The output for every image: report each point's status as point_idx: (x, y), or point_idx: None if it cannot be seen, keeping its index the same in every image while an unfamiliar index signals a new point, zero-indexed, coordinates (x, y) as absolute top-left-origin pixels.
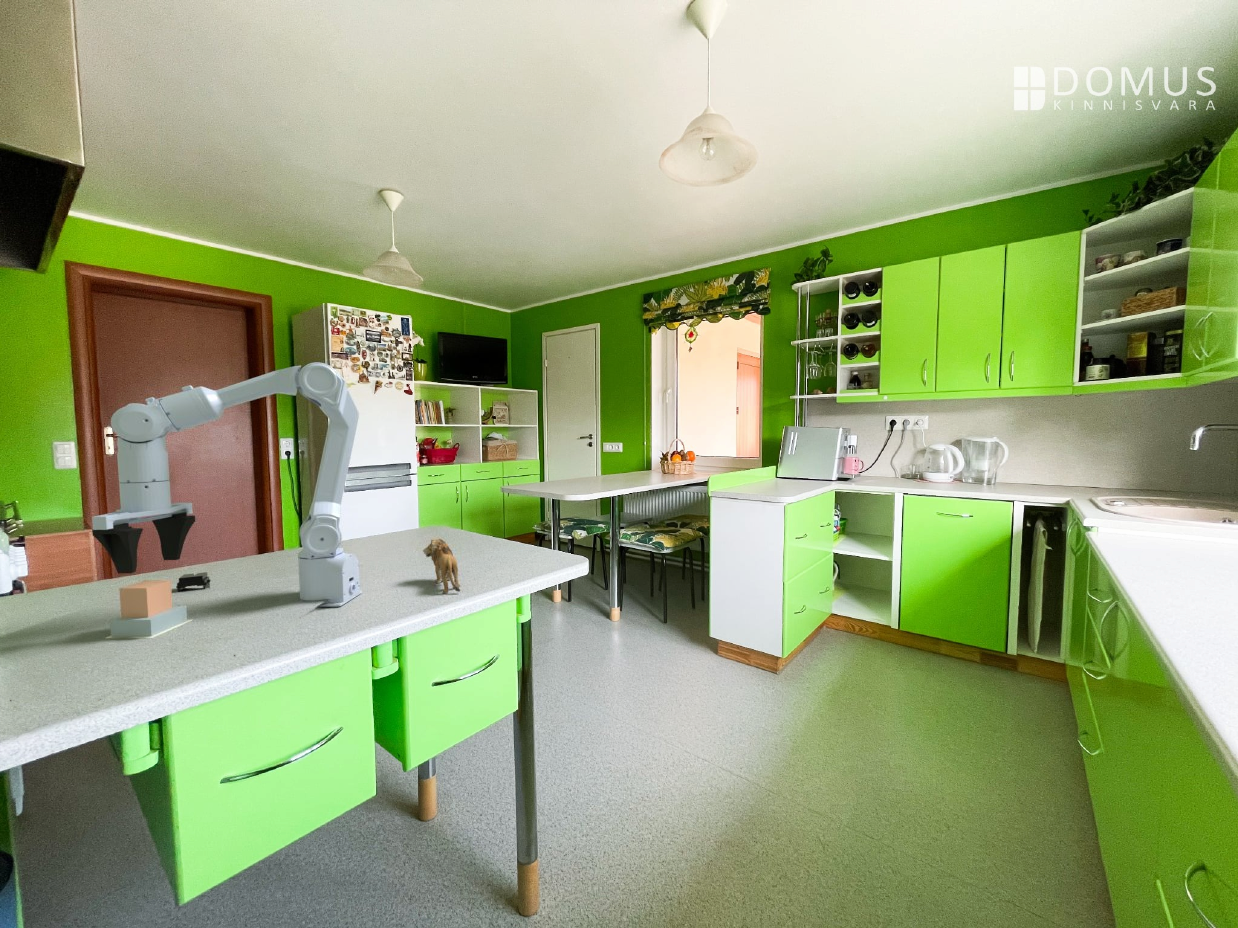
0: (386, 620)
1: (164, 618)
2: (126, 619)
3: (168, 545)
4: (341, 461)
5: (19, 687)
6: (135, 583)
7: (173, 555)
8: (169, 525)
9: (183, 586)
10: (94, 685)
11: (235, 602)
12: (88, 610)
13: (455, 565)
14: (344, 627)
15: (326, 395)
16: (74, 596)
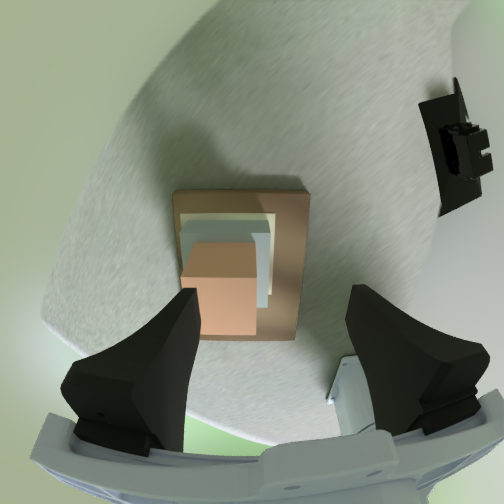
0: (274, 438)
1: None
2: (186, 261)
3: (368, 332)
4: None
5: (71, 229)
6: (226, 278)
7: (350, 322)
8: (397, 401)
9: (455, 141)
10: (95, 308)
11: (396, 261)
12: (376, 2)
13: None
14: (257, 424)
15: None
16: None
